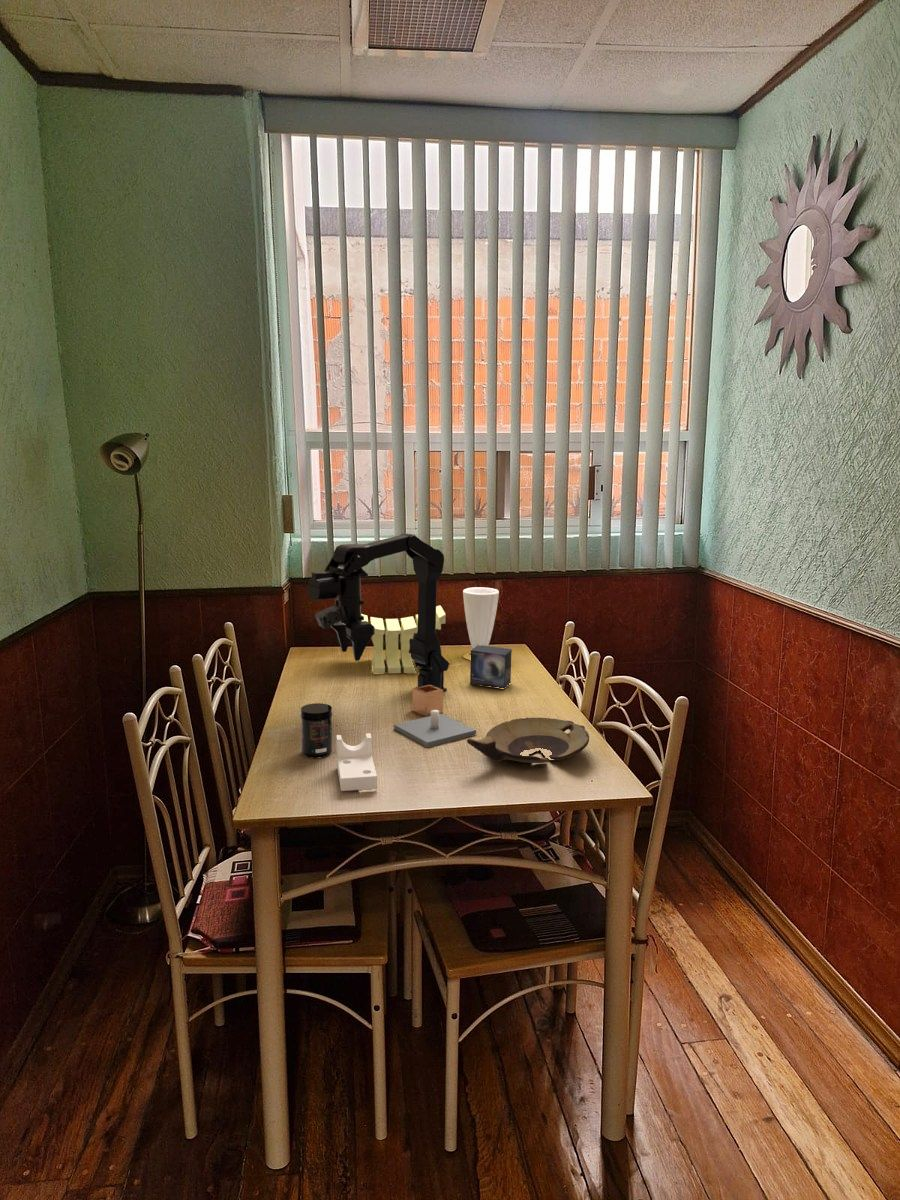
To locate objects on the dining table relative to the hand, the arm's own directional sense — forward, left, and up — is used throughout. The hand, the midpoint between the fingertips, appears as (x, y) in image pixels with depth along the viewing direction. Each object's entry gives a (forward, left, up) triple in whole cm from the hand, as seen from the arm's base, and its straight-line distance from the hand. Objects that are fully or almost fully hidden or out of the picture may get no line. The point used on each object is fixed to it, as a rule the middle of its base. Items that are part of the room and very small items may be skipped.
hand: (350, 656), depth 205 cm
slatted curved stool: (-30, -27, -14) cm, 43 cm away
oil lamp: (-16, +49, -14) cm, 53 cm away
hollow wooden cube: (-15, +13, -14) cm, 24 cm away
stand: (-8, +26, -14) cm, 30 cm away
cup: (-59, -21, -14) cm, 65 cm away
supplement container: (+21, +22, -14) cm, 33 cm away
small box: (-43, +4, -14) cm, 46 cm away
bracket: (+21, +38, -15) cm, 46 cm away
